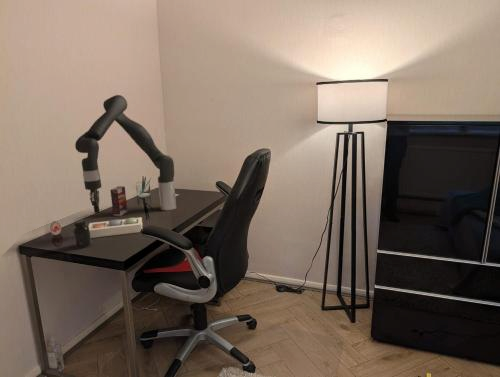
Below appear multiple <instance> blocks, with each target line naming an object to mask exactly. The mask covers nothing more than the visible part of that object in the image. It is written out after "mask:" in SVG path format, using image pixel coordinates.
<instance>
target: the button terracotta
mask: <svg viewBox="0 0 500 377" xmlns="http://www.w3.org/2000/svg"><path fill="white" fill-rule="evenodd" d="M101 227H105V226H104V224H97V225H94V226H93V228H101Z"/></svg>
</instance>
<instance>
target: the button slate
mask: <svg viewBox="0 0 500 377" xmlns="http://www.w3.org/2000/svg"><path fill="white" fill-rule="evenodd" d="M120 220H121V219H112V220H108V221H109V227H110V226H119V225H121V221H120Z"/></svg>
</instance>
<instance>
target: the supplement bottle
mask: <svg viewBox="0 0 500 377" xmlns="http://www.w3.org/2000/svg"><path fill="white" fill-rule="evenodd" d="M73 224H74V227H73V229H72V233H73V238H74V245H75V248H77V249H85V248H87V247H89V246H91V245H92V238H91V237H90V231H89V227H88V226H89V225H87V222H86V220H85V219H77V220H75V221H74V222H73Z"/></svg>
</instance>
